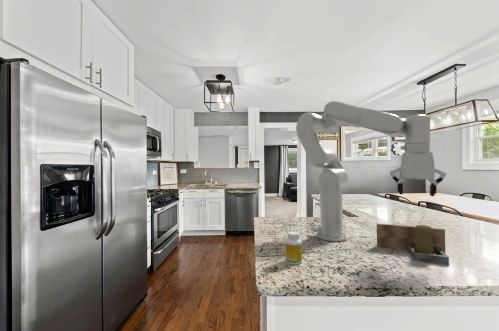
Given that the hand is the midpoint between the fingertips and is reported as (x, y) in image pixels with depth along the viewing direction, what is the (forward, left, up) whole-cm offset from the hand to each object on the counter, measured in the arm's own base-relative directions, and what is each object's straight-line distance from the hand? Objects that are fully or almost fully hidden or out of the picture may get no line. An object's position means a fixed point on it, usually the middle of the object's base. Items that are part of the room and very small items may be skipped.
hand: (416, 194), depth 88 cm
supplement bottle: (-40, -26, -22) cm, 53 cm away
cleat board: (-2, -2, -22) cm, 22 cm away
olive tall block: (+2, -3, -22) cm, 22 cm away
